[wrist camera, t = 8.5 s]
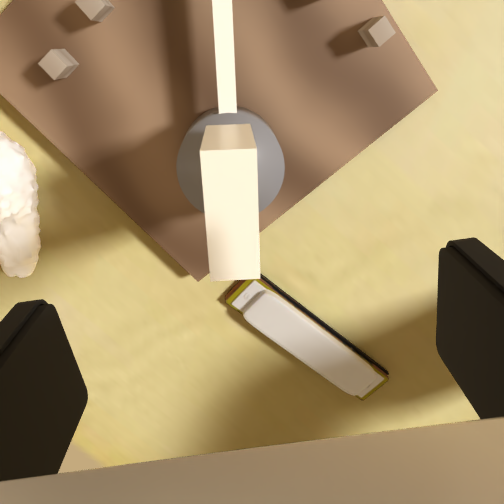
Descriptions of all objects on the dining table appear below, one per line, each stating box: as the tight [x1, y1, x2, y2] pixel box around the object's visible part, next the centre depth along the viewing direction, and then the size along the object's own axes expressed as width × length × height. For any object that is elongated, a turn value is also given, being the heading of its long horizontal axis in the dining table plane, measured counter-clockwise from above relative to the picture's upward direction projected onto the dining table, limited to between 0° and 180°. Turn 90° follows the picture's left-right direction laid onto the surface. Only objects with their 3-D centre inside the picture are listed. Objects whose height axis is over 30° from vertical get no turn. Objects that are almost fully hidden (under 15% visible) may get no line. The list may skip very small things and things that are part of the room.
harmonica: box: [225, 273, 389, 400], centre depth 34 cm, size 15×3×2 cm, turn 48°
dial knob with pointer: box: [176, 0, 285, 281], centre depth 20 cm, size 13×6×10 cm, turn 2°
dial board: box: [0, 0, 438, 281], centre depth 24 cm, size 19×18×4 cm
